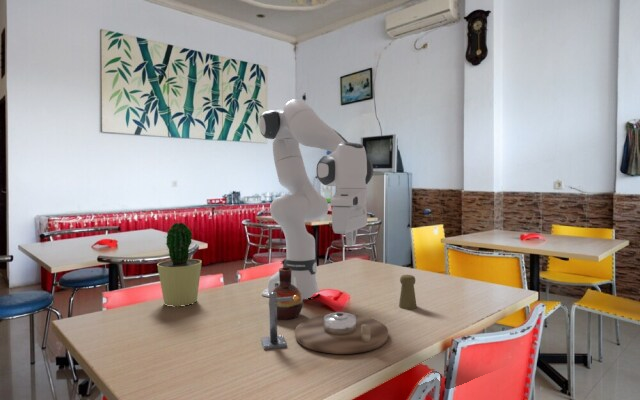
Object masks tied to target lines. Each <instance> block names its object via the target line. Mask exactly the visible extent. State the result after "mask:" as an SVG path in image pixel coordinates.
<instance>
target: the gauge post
mask: <svg viewBox="0 0 640 400" xmlns="http://www.w3.org/2000/svg"><path fill="white" fill-rule="evenodd" d="M298 299H299V297H298V296H297V295H294V296H293V297H282V298H277V292H270V293H269V297H268V308H269V309H268V310H269V336H264V337H260V341H261V345H262V346H263V350H264V351H266V349H267V350H273V349H274V348H275V349H282V348H287V347H288V345H287V344H288V343H287V341H286V338H285V337H284V335H278V319H277V302H280V301H291V300H294V301H298ZM275 349H274V350H275Z"/></svg>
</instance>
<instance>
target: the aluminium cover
mask: <svg viewBox="0 0 640 400" xmlns="http://www.w3.org/2000/svg"><path fill="white" fill-rule="evenodd" d="M324 315H325V314H324ZM324 315H323V316H324ZM354 315H355V314H353V313H350V312H343V311H342V312H341V311H336V312H330V313H327V314H326V315H325V316H324V331H325V332H326V333H327V334H330V335H336V336H345V335H350V334H353V333H354V332H355V331H356V317H355V316H354Z"/></svg>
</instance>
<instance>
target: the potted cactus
mask: <svg viewBox="0 0 640 400" xmlns="http://www.w3.org/2000/svg"><path fill="white" fill-rule="evenodd" d="M191 230H192V229H191V227H190V226H187V225H186V223H183V222H176V223H172V224H171V226H170V227H169V228H168V230H167V232H166V233H167V234H166V236H164V238H166V243H164V245H166V250H167V251H168V255H169V258H170V259H168V260H165V261H164V260H163V261H161V262H157V264H156V265H157V272H158V277H159V282H160V286H161V287H160V288H161V294H162V299H163V303H165V304H167V305H173V306H181V305H188V304H192V303H194V302H196V301H198V296H199V295H198V293H199V287H200V278H201V270H202V260H201V259H196V258H195V259H194V258H190V257H189V255H190V252H191V251H190V250H189V248H190V247H191V244H194V243H195V242H193V241H192V240H193V239H194V236H193V234H192V233H194V231H193V230H192V231H191ZM196 303H197V302H196ZM165 304H164V305H165ZM194 304H195V303H194ZM192 305H193V304H192Z"/></svg>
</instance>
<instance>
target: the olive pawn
mask: <svg viewBox="0 0 640 400" xmlns="http://www.w3.org/2000/svg"><path fill="white" fill-rule="evenodd" d="M399 283H400V284H401V287H400V295H399V301H398V302H399V304H398V307H399V308H400V309H403V310H414V309H417V308H418V307H417V301H416V300H417V299H416V292H415V283H416V278H415V275H413V274H403V275H401V276H400V278H399Z"/></svg>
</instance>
